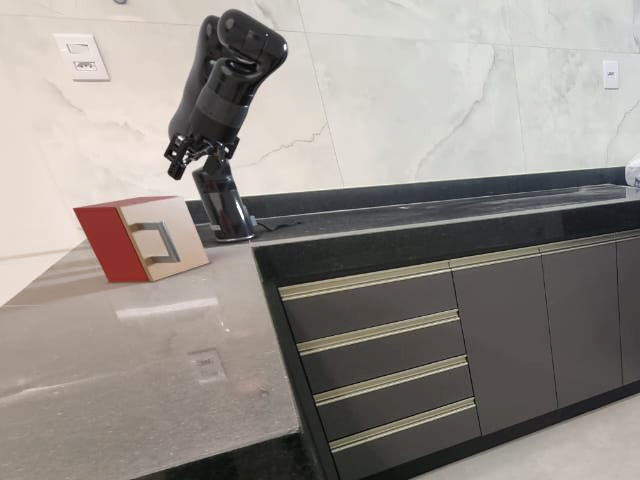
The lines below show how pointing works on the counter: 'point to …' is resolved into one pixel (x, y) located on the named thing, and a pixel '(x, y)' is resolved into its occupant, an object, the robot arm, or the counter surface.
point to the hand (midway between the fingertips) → (191, 175)
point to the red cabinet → (113, 239)
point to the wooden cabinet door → (163, 236)
